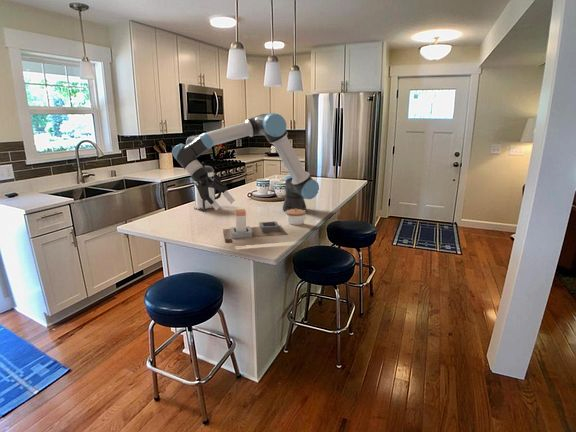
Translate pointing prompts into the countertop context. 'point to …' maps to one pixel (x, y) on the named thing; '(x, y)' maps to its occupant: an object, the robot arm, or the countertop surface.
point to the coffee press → (200, 202)
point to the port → (241, 233)
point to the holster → (269, 226)
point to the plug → (240, 220)
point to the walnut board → (254, 233)
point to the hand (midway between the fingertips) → (225, 205)
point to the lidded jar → (295, 216)
